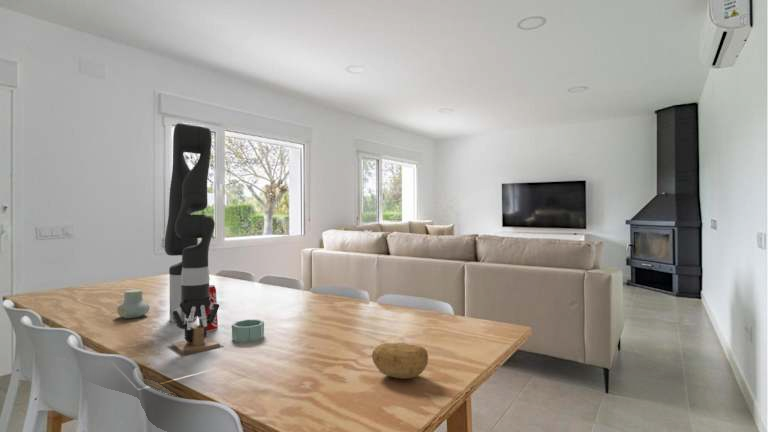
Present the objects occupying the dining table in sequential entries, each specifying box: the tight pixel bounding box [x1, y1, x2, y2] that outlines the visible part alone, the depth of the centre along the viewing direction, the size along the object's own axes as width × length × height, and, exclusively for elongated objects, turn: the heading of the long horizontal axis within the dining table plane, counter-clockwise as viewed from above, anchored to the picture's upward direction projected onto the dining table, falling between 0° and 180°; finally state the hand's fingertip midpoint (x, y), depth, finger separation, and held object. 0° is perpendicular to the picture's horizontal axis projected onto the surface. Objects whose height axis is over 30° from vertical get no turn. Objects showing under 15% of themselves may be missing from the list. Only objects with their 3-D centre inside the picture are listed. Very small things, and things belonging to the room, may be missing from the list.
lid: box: [171, 323, 221, 355], centre depth 121 cm, size 10×10×6 cm
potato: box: [371, 342, 429, 380], centre depth 100 cm, size 10×14×8 cm
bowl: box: [231, 319, 265, 343], centre depth 129 cm, size 9×9×5 cm
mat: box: [167, 344, 225, 358], centre depth 121 cm, size 12×12×1 cm
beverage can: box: [198, 284, 219, 332], centre depth 139 cm, size 6×6×15 cm
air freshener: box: [116, 289, 150, 320], centre depth 156 cm, size 11×8×10 cm
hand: (195, 340), depth 121 cm, fingers open, 3 cm apart
